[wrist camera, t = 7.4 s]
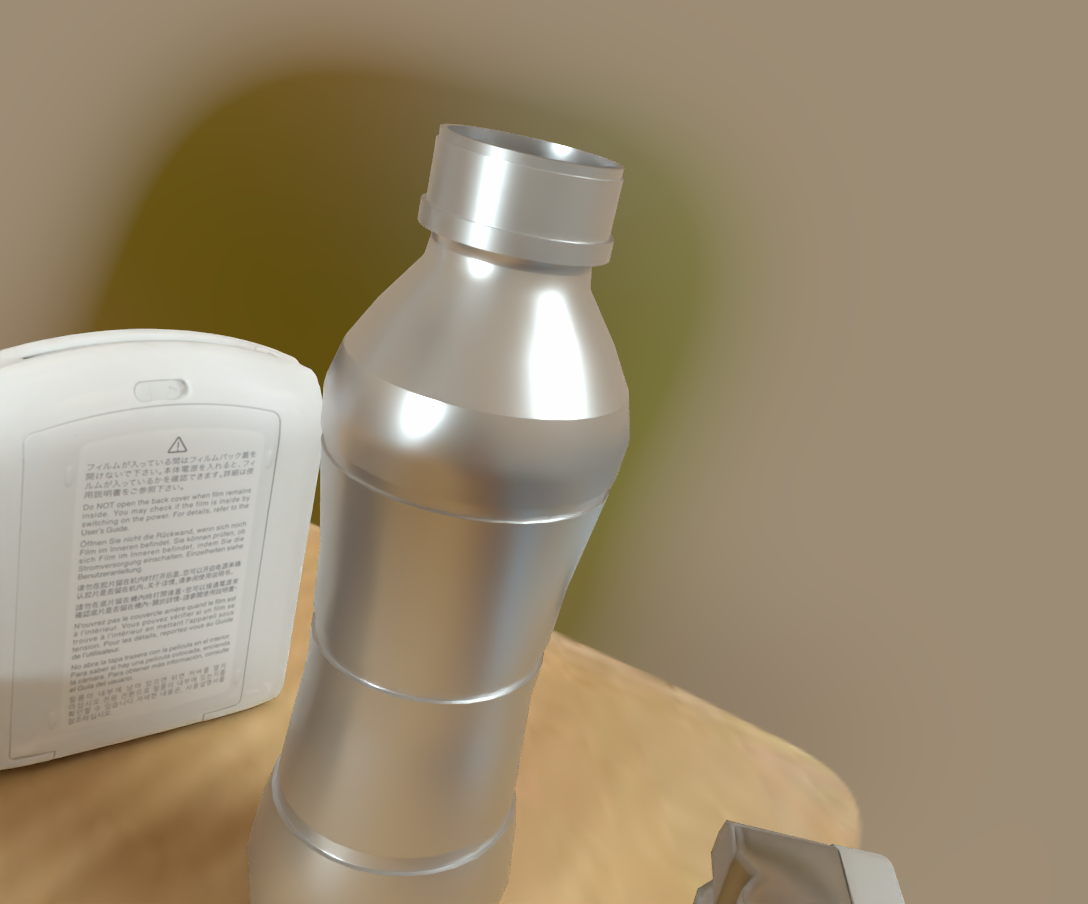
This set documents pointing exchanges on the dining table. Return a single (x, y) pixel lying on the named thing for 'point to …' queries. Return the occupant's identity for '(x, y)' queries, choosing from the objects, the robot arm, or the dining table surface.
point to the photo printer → (147, 533)
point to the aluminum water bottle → (448, 532)
